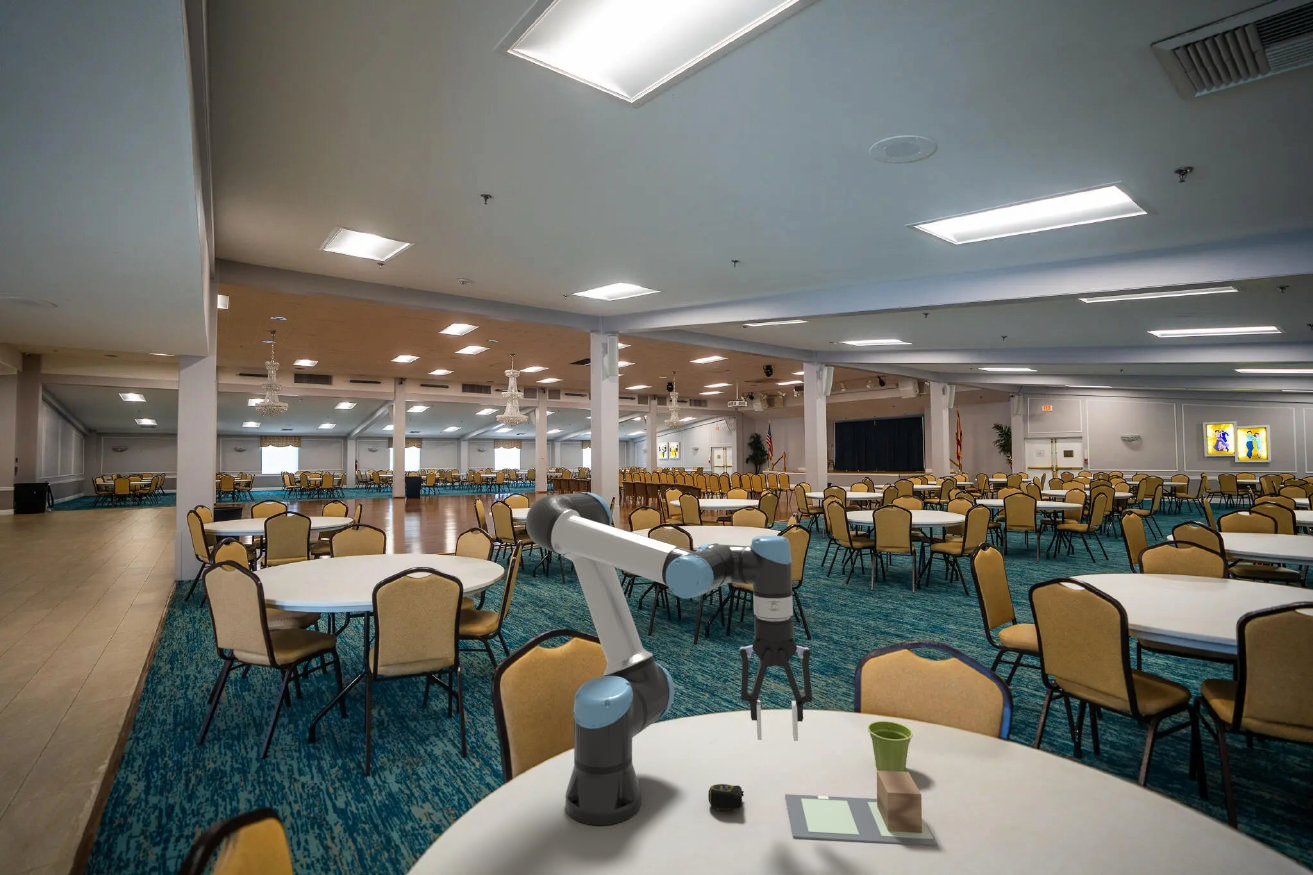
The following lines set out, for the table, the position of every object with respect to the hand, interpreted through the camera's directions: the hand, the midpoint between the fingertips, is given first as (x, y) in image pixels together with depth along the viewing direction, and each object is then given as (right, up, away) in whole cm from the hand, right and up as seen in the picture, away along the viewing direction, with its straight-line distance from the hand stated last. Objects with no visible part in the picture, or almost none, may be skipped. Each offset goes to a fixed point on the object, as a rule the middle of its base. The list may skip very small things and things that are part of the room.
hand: (777, 736), depth 120 cm
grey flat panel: (+15, -15, -2) cm, 21 cm away
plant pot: (+29, -16, +18) cm, 38 cm away
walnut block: (+23, -14, -2) cm, 27 cm away
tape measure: (-7, -15, +1) cm, 17 cm away
